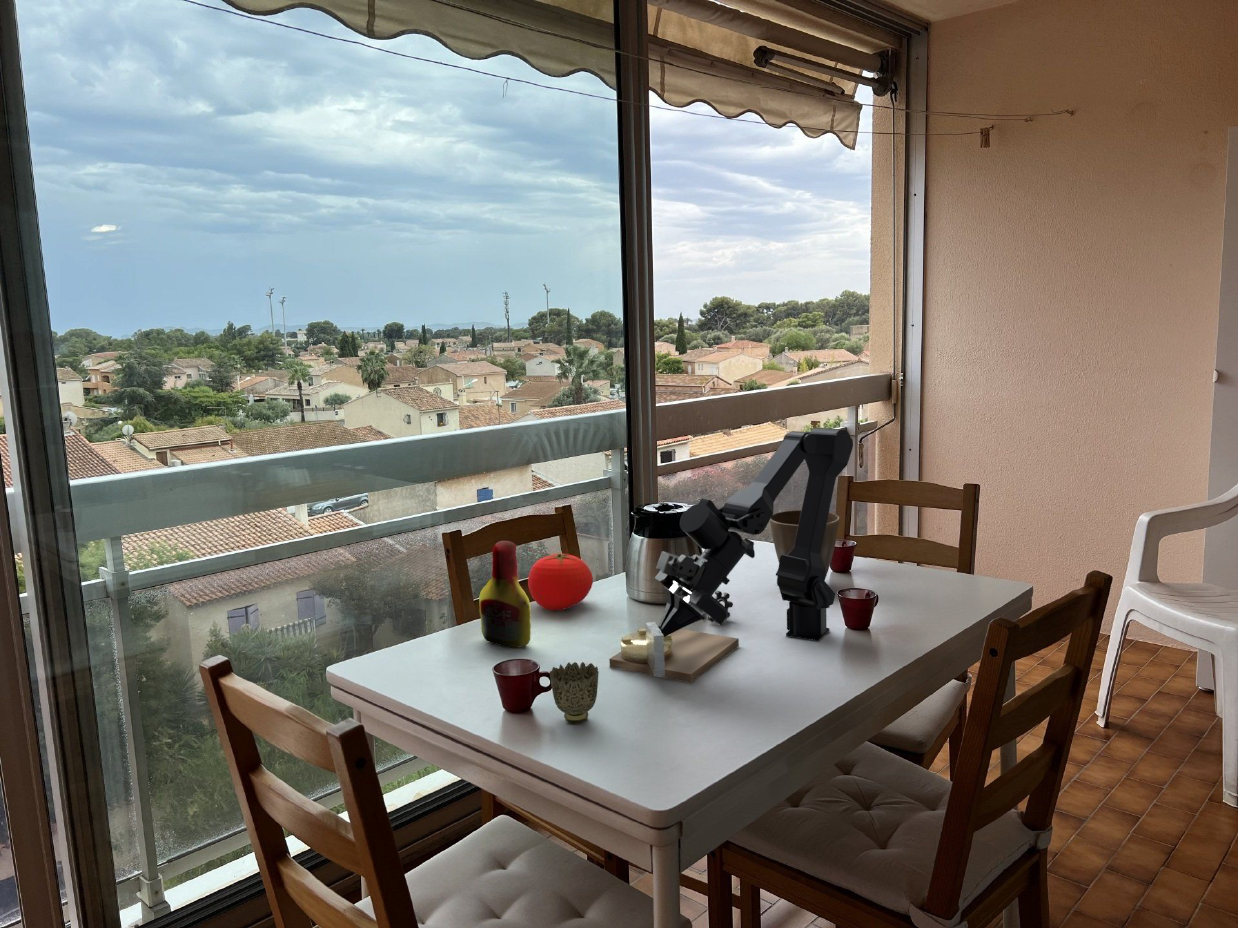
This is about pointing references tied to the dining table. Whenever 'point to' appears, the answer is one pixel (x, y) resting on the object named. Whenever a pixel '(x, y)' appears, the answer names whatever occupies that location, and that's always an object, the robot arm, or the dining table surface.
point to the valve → (724, 599)
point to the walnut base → (685, 655)
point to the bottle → (505, 601)
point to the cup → (575, 690)
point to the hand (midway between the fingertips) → (659, 635)
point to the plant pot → (786, 530)
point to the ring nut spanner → (648, 648)
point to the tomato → (559, 581)
